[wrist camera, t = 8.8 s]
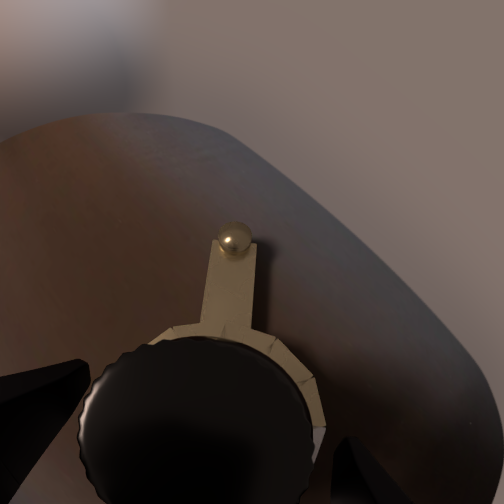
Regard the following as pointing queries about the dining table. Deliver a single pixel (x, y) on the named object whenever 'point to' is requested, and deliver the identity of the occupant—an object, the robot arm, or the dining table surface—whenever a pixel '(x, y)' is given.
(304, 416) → the supplement bottle
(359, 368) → the dining table surface
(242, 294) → the ring with knobbed tab
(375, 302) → the dining table surface
